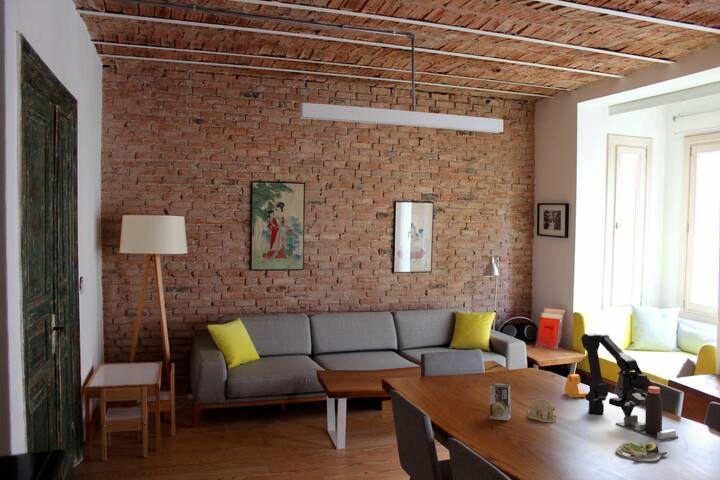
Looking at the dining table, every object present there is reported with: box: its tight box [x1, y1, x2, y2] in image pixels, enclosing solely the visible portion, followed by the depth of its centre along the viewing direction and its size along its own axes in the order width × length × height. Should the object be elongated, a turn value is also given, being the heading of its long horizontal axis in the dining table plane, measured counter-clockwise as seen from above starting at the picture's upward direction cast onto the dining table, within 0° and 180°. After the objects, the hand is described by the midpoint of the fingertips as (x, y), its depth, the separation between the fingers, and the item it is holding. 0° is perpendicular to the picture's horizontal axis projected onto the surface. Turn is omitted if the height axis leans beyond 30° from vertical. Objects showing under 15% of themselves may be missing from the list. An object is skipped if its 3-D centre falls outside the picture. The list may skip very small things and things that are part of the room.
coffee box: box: [489, 382, 512, 421], centre depth 294 cm, size 9×6×16 cm
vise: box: [615, 421, 679, 442], centre depth 276 cm, size 24×11×3 cm, turn 24°
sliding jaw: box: [623, 414, 645, 430], centre depth 281 cm, size 10×9×4 cm
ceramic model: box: [526, 397, 557, 423], centre depth 294 cm, size 14×11×10 cm
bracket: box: [564, 373, 588, 398], centre depth 335 cm, size 11×7×12 cm, turn 13°
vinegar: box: [644, 385, 663, 434], centre depth 273 cm, size 7×7×20 cm
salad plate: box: [614, 441, 668, 463], centre depth 246 cm, size 19×18×5 cm
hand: (627, 418), depth 286 cm, fingers closed, pressing on sliding jaw
